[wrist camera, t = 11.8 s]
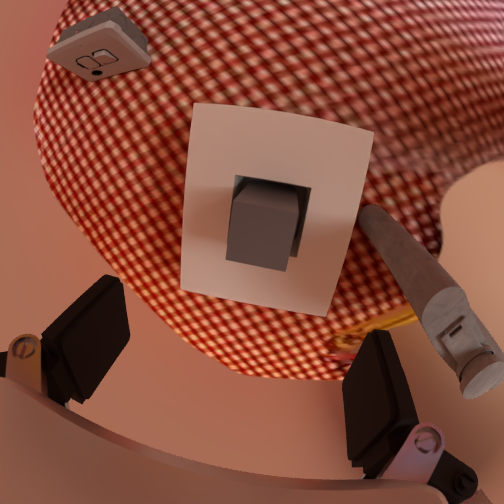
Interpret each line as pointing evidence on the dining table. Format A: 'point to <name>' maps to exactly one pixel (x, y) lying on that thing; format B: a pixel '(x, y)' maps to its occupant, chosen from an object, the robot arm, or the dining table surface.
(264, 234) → the plug
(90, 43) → the electrical switch
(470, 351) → the hip flask
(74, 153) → the dining table surface
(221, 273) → the socket
